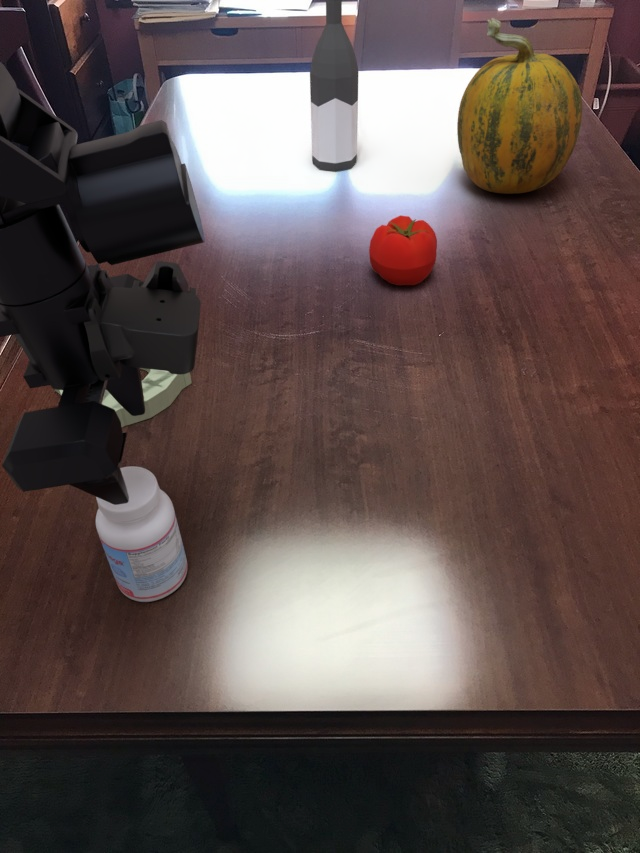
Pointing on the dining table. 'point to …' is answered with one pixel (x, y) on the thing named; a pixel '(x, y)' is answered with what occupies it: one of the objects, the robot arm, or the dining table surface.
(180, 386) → the socket pad
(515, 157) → the pumpkin
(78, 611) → the dining table surface
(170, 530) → the pill bottle
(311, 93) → the wine bottle
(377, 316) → the dining table surface
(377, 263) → the tomato
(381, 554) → the dining table surface
